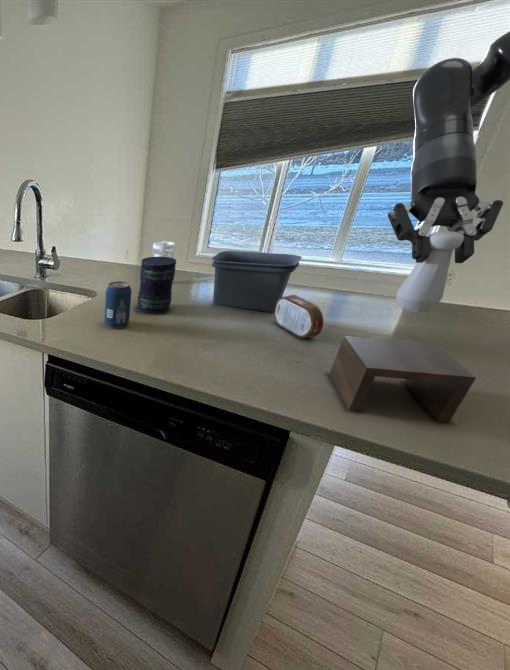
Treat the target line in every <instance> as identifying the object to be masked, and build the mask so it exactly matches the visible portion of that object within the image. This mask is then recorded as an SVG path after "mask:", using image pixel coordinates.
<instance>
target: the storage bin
mask: <svg viewBox="0 0 510 670" xmlns="http://www.w3.org/2000/svg"><path fill="white" fill-rule="evenodd" d="M301 259H302V256H301V255H298V254H289V253H278V252H277V253H276V252H259V251H240V250H225V251H219V252H218V253H217V254H215V255H214V256H213V257H211V260H212V263H211V267H212V268H214V281H213V293H212V294H213V295H212V303H213V305H217V306H224V307H231V308H238V309H239V308H240V309H247V310H254V311H260V312H269V313H270V312H275V306H276V303H277V301H278V300H279V299H280V298H281V297H284V293H285V291H286V288H287V285H288V283H289V280H290V277H291V274H292V273H293V272H294V271H296V269H297V268H298V267H299V265H300V261H301Z"/></svg>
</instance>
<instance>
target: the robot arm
mask: <svg viewBox="0 0 510 670" xmlns="http://www.w3.org/2000/svg"><path fill="white" fill-rule="evenodd" d="M509 82H510V30H509V31H507V32H506V33H504V34H503V35H501V36H499V37H498V38H497V39H496V40H494V41H493V42H492V43H491V44H490V46H489V47H488V49H487V51H486V53H485V55H484V57H483V58H482V61H481V62H480V63H479V64H478V65H477V66H475V67H474V68H473V67H472V64H471V63H470V62H469V61H468V60H466V59H464V58H461V57H451V58H446V59H443V60H440V61H438V62H437V63H435V64H433V65H432V66H430V67H429V68H428V69H426V71H424V72H423V73H422V74H421V76H420V77H419V78H418V79H417V81H416V83H415V85H414V87H413V90H412V92H413V93H412V97H413V98H412V99H413V111H414V122H415V129H414V138H413V157H412V158H413V159H412V163H411V170H410V203H406V204H404V203H402V202H398V203H396V204H395V205H394V206H393V207H392V208H391V210H390V211H389V212H388V213H387V218H388V220H389V223H390V225H391V228H392V230H393V232H394V235H395V236H396V239H397V240H398V241H400V242H403V241H408V242H410V243H411V258H412V260H415V264H417V263H423V262H424V261H425V260H426V259H427V258H428V257H429V237H428V236H429V233H430V230H431V228H433V227H437V226H439V227H446V229H447V231H451V232H458V233H461V234H463V236H464V240H463V243H462V244H461V246H460V247H459V248H457V249H454V263H455V264H463V263H464V262H466V261H467V260H469V259H470V258H471V257H472V256H473V255H474V254H475V242H476V241H480V240H481V239H482V238H483V237H484V236H486V235H487V234H489V233H490V232H491V231H492V230H493V228H494V226H495V224H496V221H497V219H498V217H499V215H500V212H501V210H502V207H503V205H504V202H503V201H502V200H500V199H496V200H494V201H492V202H487V201H480V198H479V196H477V193H476V190H477V185H478V184H477V183H478V181H477V148H476V145H475V142H474V122H473V121H474V119H473V116H472V109H473V108H474V107H475V106H477V105H478V104H480V103H481V102H483V101H484V100H485V99H487V98H488V97H489V96H491V95H492V94H494V93H495V92H497V91H498V90H499V89H501V88H503V87H504V86H505V85H506V84H507V83H509ZM473 210H474V211H475V213H476V216H475V217H476V218H477V222H476V224H474V223H473V222H474V216H473V213H471V212H472V211H473ZM410 214H411V215H412V216H413V217H414V218H415V219H416V220H417V223H416V225H415V227H414V225H413V222H412V220H411V217H410Z"/></svg>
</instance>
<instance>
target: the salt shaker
mask: <svg viewBox="0 0 510 670" xmlns="http://www.w3.org/2000/svg"><path fill="white" fill-rule="evenodd" d="M427 237H429V257H428V258H427V259H426V260H425V261H424V262H423V263H415V266H414V267H413V268H412V270H411V271H410V273H409V274H408V275H407V277H406V279H405V280H404V282H403V283H402V284H401V285H400V287H399V288H398V290H397V291H396V293H395V298H396V307H397V308H399V309H400V310H401V311H405V312H412V313H429V311H431V310H432V309H433V308H434V307H436V306H437V305H438V304H439V303H440V302H441V300H442V299H443V297H444V292H445V288H446V283H447V278H448V273H449V268H450V264H451V259H452V255H453V251H454V250H455V249H457V248H459V247H460V246H461V244H462V243H463V240H464V236H463V234H461V233H458V232H451V231H448V230H440V231H434V232H431V233H430V234H428V235H427Z"/></svg>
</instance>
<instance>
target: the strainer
mask: <svg viewBox="0 0 510 670" xmlns="http://www.w3.org/2000/svg"><path fill="white" fill-rule="evenodd" d="M175 247H176V243H175V242H173V241H167V240H162V241H157V242H153V245H152V253H151V257H170V258H174V255H175Z"/></svg>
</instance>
